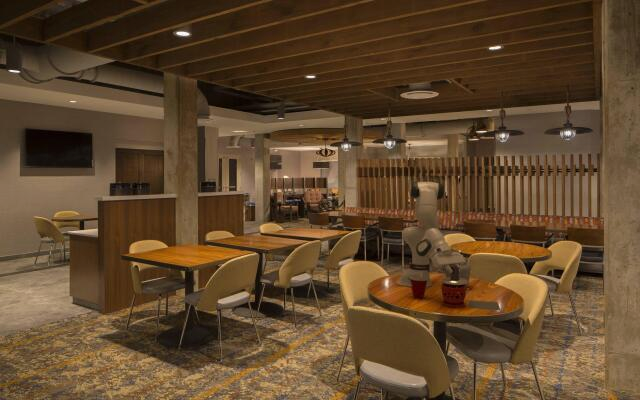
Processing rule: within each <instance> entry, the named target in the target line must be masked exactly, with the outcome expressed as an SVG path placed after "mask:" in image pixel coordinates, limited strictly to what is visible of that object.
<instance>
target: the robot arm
mask: <svg viewBox="0 0 640 400" xmlns="http://www.w3.org/2000/svg"><path fill="white" fill-rule="evenodd" d="M408 192H409V193H408V194H409V196H410V197H411V198H413V199H415V207H414V215H413V216H414V217H415V218H414V219H415V220H416V221H418V222H420V223H421V224H420V226H419V225H418V226H417V225H414V226H408V227H405V228H404V229H402V232H401V233H402V234H401V237H402V239H403V241H404V242H405V243H406V244H407V245H408V246H409V248H410V251H411V257H412V258H411V259H412V260H411V262H409V263H408V267H409V268H408V269H406V270H404V272H402V273H401V275H400V278H399V279H398V280H397V282H396V284H397V285H398V286H400V287H401V286H404V287H410V288H412V285H411V280H410V277H422V278H427V279H428V281H427V284H426V288H428V287H430V286H432V281H431V275H430V272H431V264H430V260H431V262H432V265H433V266H434V267H435V268H436V269H441V268H443V269H444V268H445V270H446V269H447V270H448V271H449V272H450V273H453V272H454V271H453V269H451V268H450V267H452V266H456V267H459V266H461V265H463V264H464V263H465V260H466V259H465V257H464V256H463V254H461V252H460V251H458V250H452V248H451V246H450V245H449V244H448V242H447V241H446V239H445V236H444V235H443V233H442V232H441V231H440V222H439V218H438V217H439V216H438V201H439V200H442V199H443V198H444V196H445V194H446V188H445V185H444V183H441V182H435V181H434V182H433V181H412V182H411V183H410V185H409V187H408ZM459 272H460V269H459Z"/></svg>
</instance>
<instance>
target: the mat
mask: <svg viewBox="0 0 640 400" xmlns="http://www.w3.org/2000/svg"><path fill="white" fill-rule="evenodd" d="M467 302H468V308H469V309H478V310H479V309H480V310H493V311H502V310H501V308H500V305H499V302H498V301H487V300H486V301H485V300H484V301H483V300H469V299H468V300H467Z"/></svg>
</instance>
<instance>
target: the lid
mask: <svg viewBox="0 0 640 400" xmlns="http://www.w3.org/2000/svg"><path fill="white" fill-rule="evenodd" d="M451 269H453V271H454V272H453V273H451V277H446V276H445V277H443V278H441V282H442V284H443V283H445V284H450V285H465V284H468V280H466V279H463V278H459V267H456V266H454V267H451Z"/></svg>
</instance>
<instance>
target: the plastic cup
mask: <svg viewBox="0 0 640 400" xmlns="http://www.w3.org/2000/svg"><path fill="white" fill-rule="evenodd" d="M410 280H411V285H412V287H411V290H412V296H413V299H415V300H423V299H424V297H425V292H426V288H427V287H426V284H427V281H428V279H427V278H422V277H410Z"/></svg>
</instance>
